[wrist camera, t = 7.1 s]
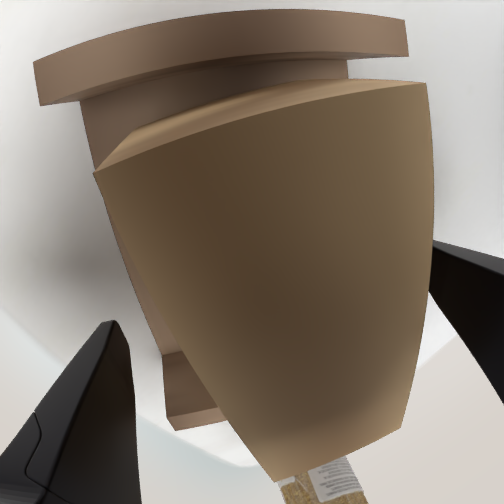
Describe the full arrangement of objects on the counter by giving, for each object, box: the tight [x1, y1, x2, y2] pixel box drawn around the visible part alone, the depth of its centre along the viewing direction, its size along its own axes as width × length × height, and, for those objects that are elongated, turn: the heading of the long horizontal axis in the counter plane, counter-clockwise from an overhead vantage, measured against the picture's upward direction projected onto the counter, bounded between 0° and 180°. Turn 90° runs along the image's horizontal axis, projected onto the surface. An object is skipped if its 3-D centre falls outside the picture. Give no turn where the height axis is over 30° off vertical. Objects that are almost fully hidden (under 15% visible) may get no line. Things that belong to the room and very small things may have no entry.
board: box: [93, 79, 434, 482], centre depth 8 cm, size 4×10×5 cm, turn 15°
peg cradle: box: [33, 9, 409, 431], centre depth 11 cm, size 10×14×4 cm
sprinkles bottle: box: [277, 456, 368, 504], centre depth 15 cm, size 5×5×13 cm
